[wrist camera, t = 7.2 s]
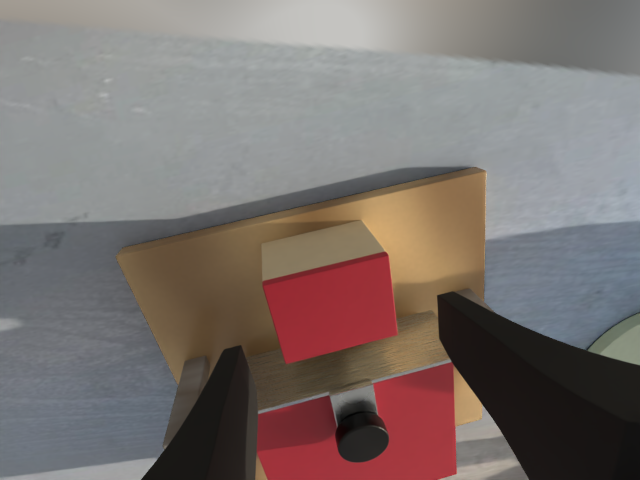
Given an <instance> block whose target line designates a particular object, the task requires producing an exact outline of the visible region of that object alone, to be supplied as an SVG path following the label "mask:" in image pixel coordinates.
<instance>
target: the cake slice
mask: <svg viewBox="0 0 640 480" xmlns="http://www.w3.org/2000/svg"><path fill="white" fill-rule="evenodd" d="M261 251H262V287H263V290H264V293H265V297H266V300H267V304H268V307H269V310H270V314H271V317H272V320H273V324H274V327H275V330H276V334H277V337H278V341H279V344H280V347H281V351H282V354H283V357H284V361H285V363H286V364H288V363H292V362H296V361H300V360H304V359H308V358H311V357H315V356H319V355H323V354H327V353H331V352H334V351H338V350H342V349H346V348H350V347H354V346H357V345H361V344H365V343H369V342H373V341H377V340H380V339H384V338H388V337H392V336H396V335H398V331H397V323H396V314H395V305H394V296H393V287H392V278H391V269H390V260H389V255H388V254H387V252H386V251H385V250H384V248H383V247H382V246H381V245H380V243H379V242H378V241H377V239H376V238H375V237H374V235H373V234H372V233H371V232H370V230H369V229H368V228H367V226H366V225H365V224H364V222H363V221H362V220H359V221H355V222H350V223H346V224H342V225H338V226H333V227H329V228H325V229H321V230H316V231H312V232H308V233H304V234H299V235H295V236H291V237H287V238H282V239H278V240H274V241H269V242H265V243H262V244H261Z"/></svg>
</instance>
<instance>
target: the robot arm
mask: <svg viewBox="0 0 640 480" xmlns="http://www.w3.org/2000/svg"><path fill="white" fill-rule="evenodd" d="M437 307H438V328H439V340H440V342H441V343H442V345H443V347H444V349H445V351H446V353H447V355H448V356H449V358H450V360H451V362H452V363H453V365H454V366H455V368H456V369H457V370H458V372H459V373H460V374H461V376H462V377H463V379H464V380H465V381H466V383H467V384H468V386H469V387H470V388H471V390H472V391H473V392H474V394H475V395H476V396H477V398H478V399H479V400H480V402H481V403H482V405H483V406H484V407H485V409H486V410H487V411H488V413H489V414H490V416H491V417H492V418H493V420H494V421H495V423H496V424H497V426H498V427H499V429H500V430H501V432H502V434H503V435H504V437H505V439H506V440H507V442H508V444H509V446H510V447H511V449H512V451H513V452H514V454H515V456H516V457H517V459H518V461H519V462H520V464H521V466H522V468H523V470H524V471H525V473H526V475H527V477H528V478H529V480H640V365H637V364H633V363H629V362H625V361H621V360H617V359H613V358H610V357H606V356H603V355H600V354H596V353H593V352H590V351H586V350H583V349H580V348H577V347H574V346H571V345H568V344H566V343H563V342H560V341H557V340H555V339H552V338H549V337H547V336H544V335H542V334H539V333H537V332H535V331H532V330H530V329H528V328H526V327H523V326H521V325H519V324H517V323H515V322H512V321H510V320H508V319H506V318H504V317H502V316H500V315H498V314H496V313H494V312H492V311H490V310H488V309H486V308H484V307H483V306H481V305H479V304H477V303H475V302H473V301H471V300H469V299H467V298H465V297H464V296H462V295H460V294H458V293H456V292H454V291H451V292H448V293H444V294H440V295H437ZM257 434H258V403H257V390H256V385H255V382H254V379H253V376H252V374H251V371H250V368H249V365H248V362H247V360H246V357H245V354H244V351H243V349H242V346H241V345H239V346H235V347H231V348H227V349H224V350H223V352H222V353H221V355H220V357H219V359H218V361H217V363H216V365H215V367H214V369H213V371H212V373H211V375H210V377H209V379H208V381H207V383H206V385H205V386H204V388H203V390H202V392H201V394H200V395H199V397H198V399H197V401H196V403H195V404H194V406H193V408H192V409H191V411H190V412H189V414H188V416H187V417H186V419H185V421H184V422H183V424H182V425H181V427H180V429H179V430H178V432H177V433H176V434H175V436H174V437H173V439H172V440H171V442H170V443H169V445H168V446H167V447H166V449H165V450H164V451H163V453H162V454H161V456H160V457H159V458H158V459H157V461H156V462H155V463H154V465H153V466H152V467H151V468H150V469H149V471H148V472H147V473H146V474H145V475H144V477H143V478H142V479H141V480H255V475H256V455H257Z"/></svg>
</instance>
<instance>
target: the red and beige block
mask: <svg viewBox="0 0 640 480" xmlns="http://www.w3.org/2000/svg"><path fill="white" fill-rule="evenodd" d="M416 314H417V313H416ZM412 315H414V314H412ZM408 316H410V315H408ZM404 317H406V316H404ZM400 318H402V317H400ZM396 319H398V318H396ZM280 349H281V348H280ZM276 350H278V349H276ZM272 351H274V350H272ZM268 352H270V351H268ZM264 353H266V352H264ZM260 354H262V353H260ZM256 355H258V354H256ZM253 356H254V355H253ZM249 357H250V356H249ZM246 358H247V357H246ZM373 385H374V391H375V398H376V404H377V410H378V416H379V417H380V418H381V419H382V420H383V421H384V423H385V426H386V429H387V431H388V434H389V444H388V446H387V448H386V450H385V451H384V452H383V453H382V454H381V455H379V456H378V457H376V458H375V459H373V460H370V461H367V462H362V463H353V462H348V461H346V460H344V459H343V458H342V457H341V456H340V454H339V452H338V449H337V444H336V440H335V432H336V429H337V425H336V421H335V417H334V413H333V409H332V404H331V400H330V396H329V395H328V396H324V397H320V398H317V399H313V400H309V401H306V402H302V403H298V404H294V405H291V406H287V407H283V408H280V409H276V410H272V411H268V412H265V413H261V414H258V434H257V455H258V457H259V460H260V462H261V465H262V467H263V469H264V472H265V474H266V477H267V479H268V480H438V479H441V478H444V477H448V476H451V475H455V474H457V470H456V435H455V400H454V365H453V363H452V362H450V363H447V364H443V365H439V366H435V367H432V368H428V369H424V370H421V371H417V372H413V373H409V374H406V375H402V376H398V377H395V378H391V379H387V380H383V381H380V382H376V383H373Z"/></svg>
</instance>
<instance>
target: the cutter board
mask: <svg viewBox="0 0 640 480" xmlns="http://www.w3.org/2000/svg"><path fill="white" fill-rule="evenodd" d="M485 217H486V171H485V170H482V169H480V168H477V167H473V168H468V169H464V170H460V171H455V172H451V173H446V174H442V175H438V176H433V177H429V178H425V179H420V180H416V181H412V182H407V183H403V184H398V185H394V186H390V187H385V188H381V189H377V190H372V191H368V192H364V193H359V194H355V195H351V196H346V197H342V198H337V199H333V200H329V201H324V202H320V203H316V204H311V205H307V206H303V207H298V208H294V209H289V210H285V211H281V212H276V213H272V214H268V215H263V216H259V217H255V218H250V219H246V220H241V221H237V222H233V223H228V224H224V225H220V226H215V227H211V228H207V229H202V230H198V231H194V232H189V233H185V234H180V235H176V236H172V237H167V238H163V239H159V240H154V241H150V242H146V243H141V244H137V245H132V246H128V247H124V248H122V249H121V250H120V252H119V253H118V254H117V255H116V259H117V261H118V263H119V265H120V267H121V269H122V271H123V274H124V276H125V278H126V280H127V282H128V284H129V286H130V288H131V290H132V292H133V294H134V296H135V298H136V300H137V302H138V304H139V306H140V308H141V310H142V313H143V315H144V317H145V319H146V321H147V323H148V325H149V327H150V329H151V331H152V333H153V335H154V337H155V339H156V341H157V343H158V345H159V347H160V350H161V352H162V354H163V356H164V358H165V360H166V362H167V364H168V366H169V368H170V370H171V372H172V374H173V376H174V378H175V380H176V382H177V384H178V388H177V392H176V396H175V400H174V404H173V408H172V411H171V415H170V419H169V423H168V427H167V430H166V434H165V438H164V442H163V448H164V450H165V449H166V447H167V446H168V445H169V443H170V442H171V440H172V439H173V437H174V436H175V434H176V433H177V432H178V430H179V429H180V427H181V425H182V424H183V422H184V421H185V419H186V417H187V416H188V414H189V412H190V411H191V409H192V408H193V406H194V404H195V403H196V401H197V399H198V397H199V395H200V394H201V392H202V390H203V388H204V386H205V385H206V383H207V381H208V379H209V377H210V375H211V373H212V371H213V369H214V367H215V365H216V363H217V361H218V359H219V357H220V355H221V353H222V352H223V350H224V349H227V348H231V347H235V346H239V345H241V346H242V349H243V351H244V354H245V357H249V356H253V355H256V354H260V353H264V352H268V351H272V350H276V349H280V348H281V347H280V344H279V341H278V337H277V334H276V330H275V327H274V324H273V320H272V317H271V314H270V310H269V307H268V304H267V300H266V297H265V293H264V290H263V287H262V251H261V244H262V243H265V242H269V241H274V240H278V239H282V238H287V237H291V236H295V235H299V234H304V233H308V232H312V231H316V230H321V229H325V228H329V227H333V226H338V225H342V224H346V223H350V222H355V221H359V220H362V221H363V222H364V224H365V225H366V226H367V228H368V229H369V230H370V232H371V233H372V234H373V235H374V237H375V238H376V239H377V241H378V242H379V243H380V245H381V246H382V247H383V248H384V250H385V251H386V252H387V254H388V255H389V260H390V269H391V278H392V287H393V296H394V305H395V314H396V318H400V317H404V316H408V315H412V314H416V313H421V312H425V311H429V310H432V311H433V312H434V314H435V315H436V316H437V317H438V307H437V295H440V294H444V293H448V292H451V291H454V292H456V293H458V294H460V295H462V296H464V297H465V298H467V299H469V300H471V301H473V302H475V303H477V304H479V305H481V306H483V307H484V308H486V309H488V310H490V311H492V312H494V311H493V310H492V309H491V308H490V307H489V306H488V305H487V304H486V303H485V302H484V272H485ZM494 313H495V312H494ZM454 400H455V427H456V426H459V425H463V424H466V423H470V422H473V421H477V420H480V419H482V403H481V402H480V400H479V399H478V398H477V396H476V395H475V394H474V392H473V391H472V390H471V388H470V387H469V386H468V384H467V383H466V381H465V380H464V379H463V377H462V376H461V374H460V373H459V372H458V370H457V369H456V368H455V366H454ZM255 480H268V479H267V477H266V474H265V472H264V469H263V467H262V465H261V462H260V460H259V457H258V455H256V475H255Z"/></svg>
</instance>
